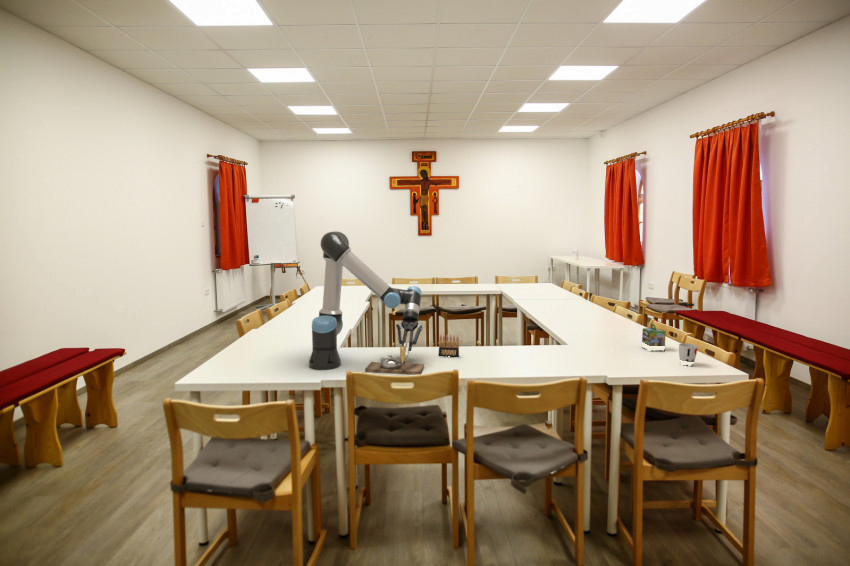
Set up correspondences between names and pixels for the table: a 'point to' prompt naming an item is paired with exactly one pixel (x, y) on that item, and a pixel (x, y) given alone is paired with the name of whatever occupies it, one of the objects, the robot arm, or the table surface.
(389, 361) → the silver teapot
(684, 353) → the cup
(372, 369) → the base plate
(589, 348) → the table surface
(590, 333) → the table surface
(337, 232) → the robot arm
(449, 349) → the ammunition clip
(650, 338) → the lunch box
